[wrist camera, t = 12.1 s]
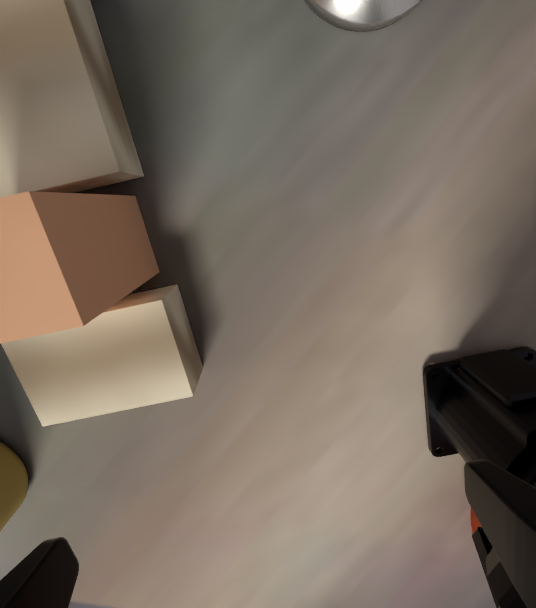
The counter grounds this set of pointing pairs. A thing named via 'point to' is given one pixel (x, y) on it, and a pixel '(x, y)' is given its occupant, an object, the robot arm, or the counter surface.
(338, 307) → the counter surface
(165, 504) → the counter surface
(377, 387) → the counter surface
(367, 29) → the bobbin
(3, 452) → the paper tube
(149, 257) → the tab block
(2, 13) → the notched board
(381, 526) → the counter surface
